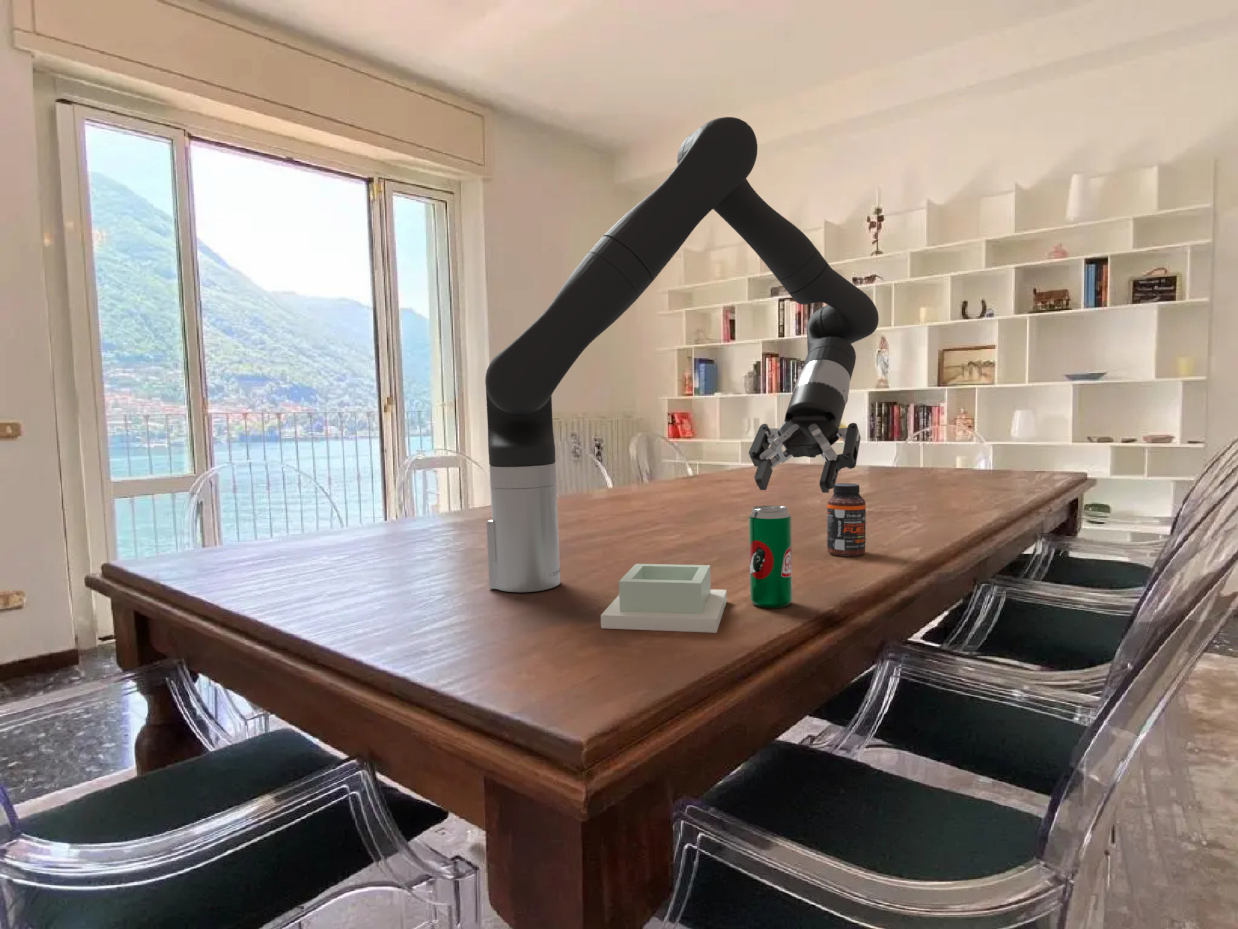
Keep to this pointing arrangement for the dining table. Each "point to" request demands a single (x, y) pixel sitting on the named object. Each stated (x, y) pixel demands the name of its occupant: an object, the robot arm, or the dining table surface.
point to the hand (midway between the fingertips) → (791, 487)
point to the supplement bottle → (846, 521)
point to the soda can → (770, 556)
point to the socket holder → (666, 600)
